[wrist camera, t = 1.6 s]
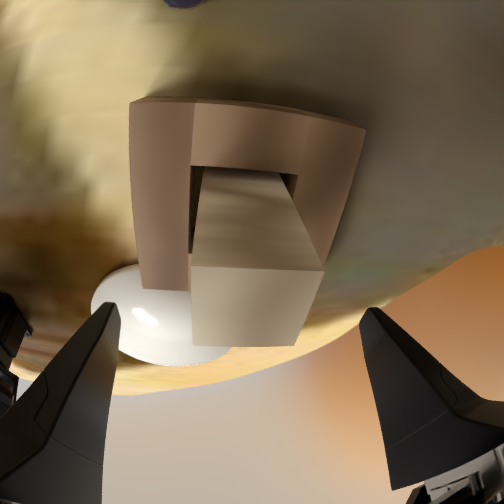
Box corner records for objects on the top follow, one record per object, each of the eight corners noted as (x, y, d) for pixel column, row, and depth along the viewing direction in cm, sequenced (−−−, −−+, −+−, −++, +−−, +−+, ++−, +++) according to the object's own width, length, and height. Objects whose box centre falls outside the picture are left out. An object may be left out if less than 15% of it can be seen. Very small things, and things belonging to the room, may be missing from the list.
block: (201, 221, 17) (192, 345, 10) (205, 160, 15) (190, 265, 8) (264, 225, 18) (293, 345, 11) (275, 166, 15) (324, 271, 8)
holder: (149, 263, 19) (142, 288, 17) (143, 97, 12) (129, 103, 10) (303, 270, 21) (312, 294, 19) (346, 119, 14) (366, 129, 12)
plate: (112, 353, 25) (111, 359, 25) (76, 257, 18) (73, 264, 17) (233, 361, 28) (233, 368, 27) (249, 267, 20) (250, 275, 19)
